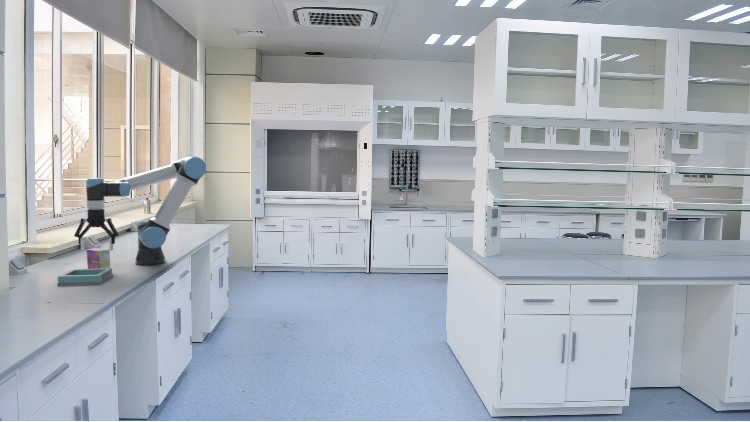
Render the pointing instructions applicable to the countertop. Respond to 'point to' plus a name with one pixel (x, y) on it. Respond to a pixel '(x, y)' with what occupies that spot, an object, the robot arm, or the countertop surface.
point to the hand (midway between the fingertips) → (97, 250)
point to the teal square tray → (85, 277)
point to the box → (98, 258)
